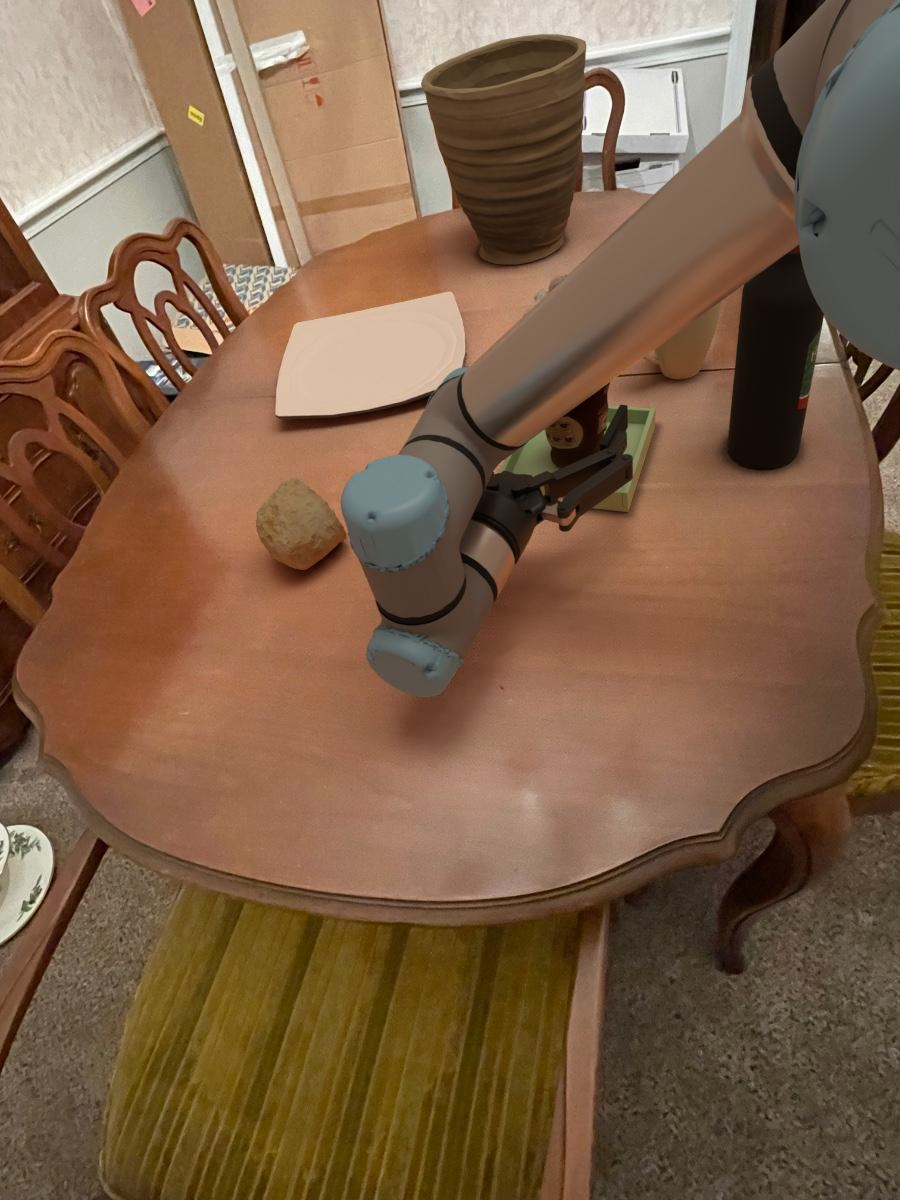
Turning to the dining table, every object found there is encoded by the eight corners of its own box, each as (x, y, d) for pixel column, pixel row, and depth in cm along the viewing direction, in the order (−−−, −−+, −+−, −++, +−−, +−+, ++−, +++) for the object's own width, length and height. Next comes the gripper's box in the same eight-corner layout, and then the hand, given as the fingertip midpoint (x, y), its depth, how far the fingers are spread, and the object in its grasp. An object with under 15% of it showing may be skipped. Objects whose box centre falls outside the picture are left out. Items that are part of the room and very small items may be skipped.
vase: (590, 207, 136) (601, 8, 111) (564, 288, 124) (570, 85, 99) (460, 200, 142) (442, 9, 117) (423, 277, 130) (394, 82, 105)
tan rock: (365, 493, 83) (286, 513, 77) (356, 568, 89) (281, 592, 83) (318, 455, 88) (239, 470, 82) (312, 528, 94) (238, 548, 88)
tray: (655, 427, 91) (655, 407, 89) (628, 512, 83) (627, 493, 81) (535, 419, 97) (532, 401, 95) (498, 498, 88) (494, 480, 86)
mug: (644, 349, 102) (644, 262, 94) (721, 349, 99) (728, 260, 90) (629, 397, 96) (627, 309, 87) (710, 399, 93) (717, 308, 84)
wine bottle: (721, 432, 88) (745, 155, 66) (789, 423, 87) (837, 138, 65) (734, 474, 83) (766, 189, 61) (807, 465, 82) (866, 171, 60)
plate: (272, 439, 105) (264, 424, 103) (293, 335, 125) (287, 320, 123) (472, 402, 102) (469, 385, 100) (463, 301, 121) (460, 285, 119)
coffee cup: (576, 491, 85) (568, 393, 76) (526, 462, 90) (512, 367, 81) (629, 451, 88) (627, 352, 78) (577, 425, 93) (569, 329, 83)
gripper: (376, 548, 77) (464, 423, 88) (612, 602, 67) (678, 452, 78) (355, 493, 72) (452, 367, 83) (609, 542, 61) (681, 390, 72)
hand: (562, 408), depth 80 cm, fingers open, 13 cm apart
